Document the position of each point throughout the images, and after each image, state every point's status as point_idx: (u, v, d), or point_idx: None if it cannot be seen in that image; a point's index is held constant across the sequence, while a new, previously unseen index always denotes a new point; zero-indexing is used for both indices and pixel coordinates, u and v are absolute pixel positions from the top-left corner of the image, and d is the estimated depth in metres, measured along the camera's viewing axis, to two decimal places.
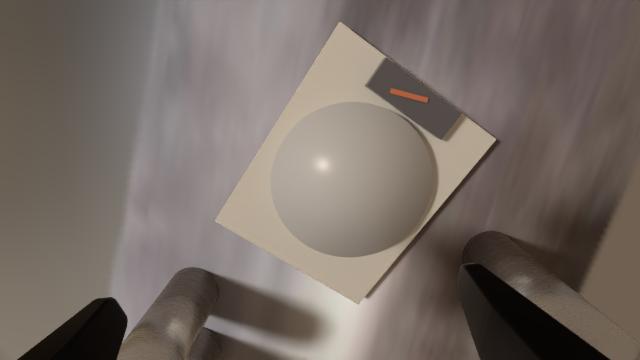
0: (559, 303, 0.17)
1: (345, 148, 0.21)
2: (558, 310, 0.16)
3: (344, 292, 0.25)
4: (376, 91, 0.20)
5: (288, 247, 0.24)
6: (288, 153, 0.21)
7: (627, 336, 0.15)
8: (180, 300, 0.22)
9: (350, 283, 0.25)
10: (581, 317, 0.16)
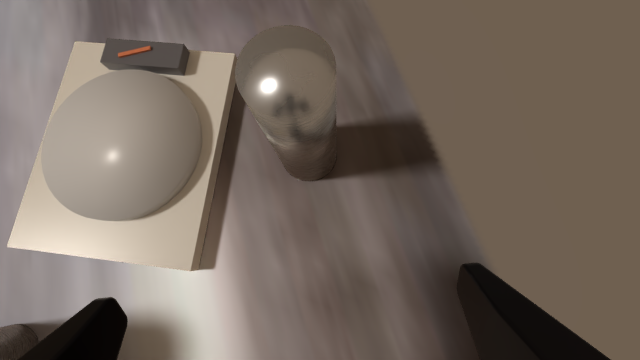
0: None
1: (101, 113, 0.22)
2: None
3: (168, 263, 0.21)
4: (109, 62, 0.23)
5: (89, 239, 0.21)
6: (52, 140, 0.22)
7: None
8: None
9: (169, 248, 0.21)
10: None
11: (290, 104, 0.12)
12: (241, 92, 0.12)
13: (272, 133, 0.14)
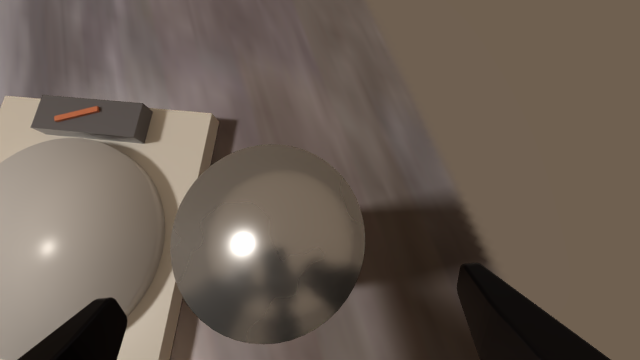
0: None
1: (27, 200, 0.16)
2: None
3: None
4: (43, 127, 0.17)
5: None
6: None
7: None
8: None
9: None
10: None
11: (275, 316, 0.06)
12: (180, 285, 0.06)
13: None
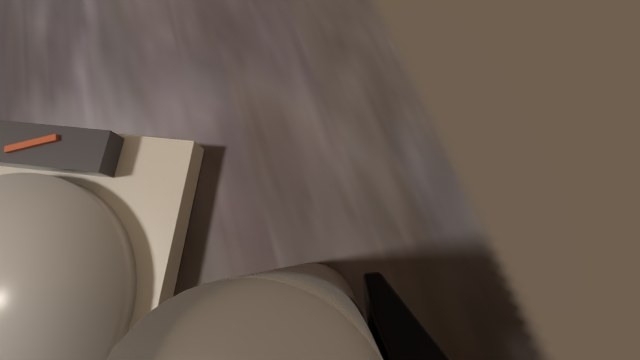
0: None
1: None
2: None
3: None
4: None
5: None
6: None
7: (232, 278, 0.04)
8: None
9: None
10: None
11: None
12: None
13: None
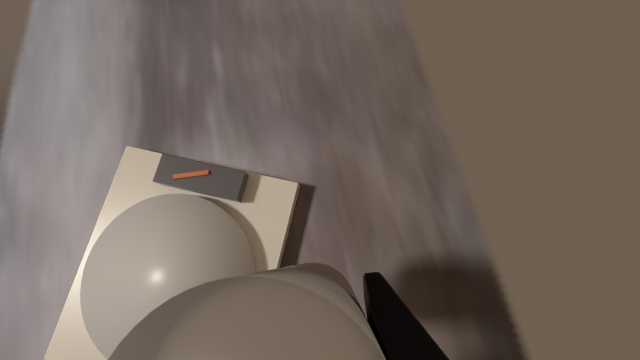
0: None
1: (149, 243, 0.20)
2: None
3: None
4: (162, 182, 0.21)
5: None
6: (94, 269, 0.20)
7: (234, 277, 0.04)
8: None
9: None
10: None
11: None
12: None
13: None
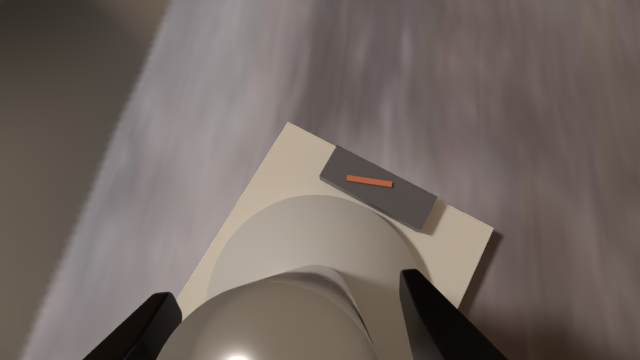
0: None
1: (301, 251, 0.16)
2: None
3: None
4: (331, 180, 0.17)
5: None
6: (230, 263, 0.16)
7: (257, 282, 0.06)
8: None
9: None
10: None
11: None
12: None
13: None
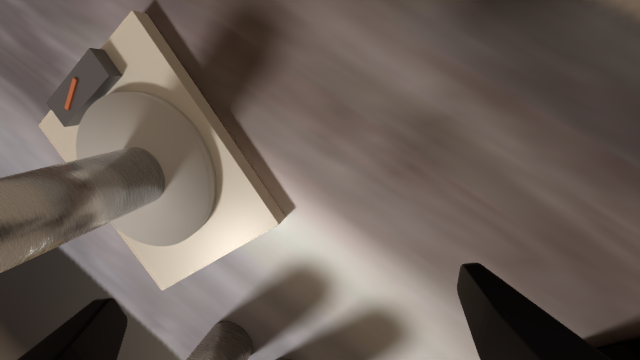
0: None
1: None
2: None
3: (259, 230, 0.21)
4: (68, 120, 0.22)
5: (197, 253, 0.24)
6: None
7: None
8: None
9: (250, 220, 0.21)
10: None
11: None
12: None
13: (9, 267, 0.14)
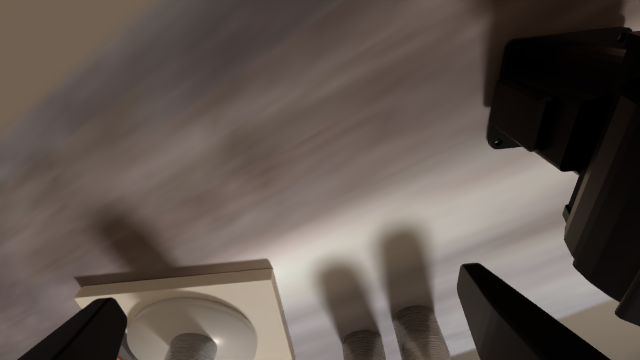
0: None
1: None
2: None
3: (271, 292, 0.26)
4: None
5: (273, 336, 0.29)
6: None
7: None
8: None
9: (259, 295, 0.26)
10: None
11: None
12: None
13: None
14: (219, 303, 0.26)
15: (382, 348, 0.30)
